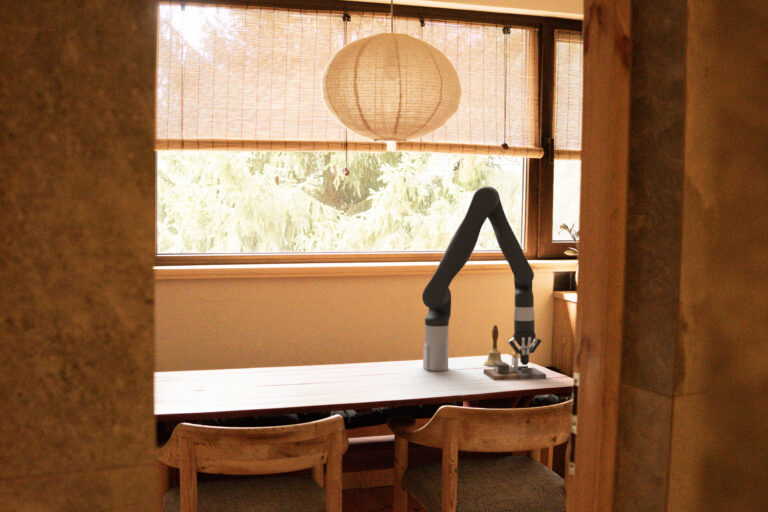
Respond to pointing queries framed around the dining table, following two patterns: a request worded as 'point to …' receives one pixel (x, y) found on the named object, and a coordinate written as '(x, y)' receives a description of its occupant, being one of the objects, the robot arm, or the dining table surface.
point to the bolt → (514, 364)
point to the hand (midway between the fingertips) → (524, 364)
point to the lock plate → (513, 373)
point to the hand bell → (494, 350)
